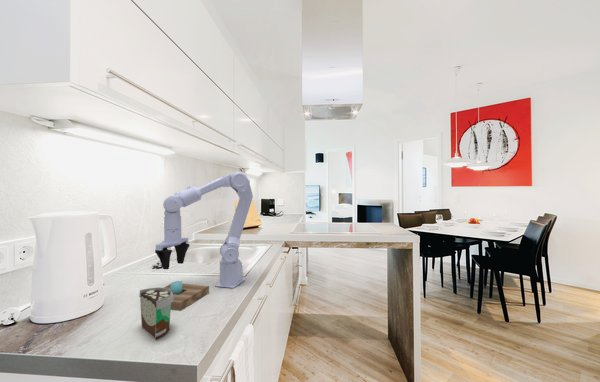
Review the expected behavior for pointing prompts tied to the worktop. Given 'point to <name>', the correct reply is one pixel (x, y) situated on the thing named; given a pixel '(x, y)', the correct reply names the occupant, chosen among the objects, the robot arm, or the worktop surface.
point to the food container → (156, 311)
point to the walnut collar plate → (188, 295)
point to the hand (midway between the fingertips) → (173, 266)
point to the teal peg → (176, 287)
